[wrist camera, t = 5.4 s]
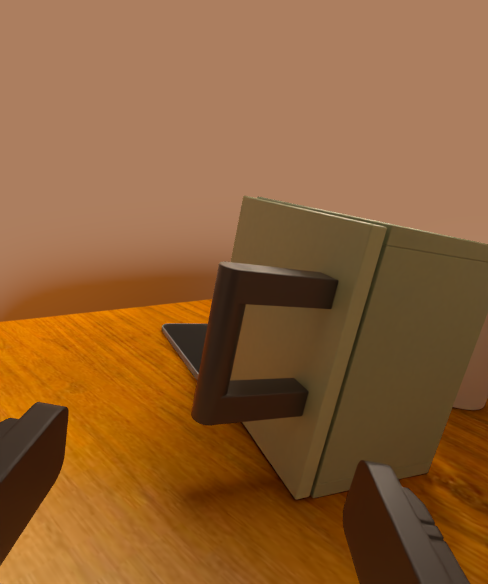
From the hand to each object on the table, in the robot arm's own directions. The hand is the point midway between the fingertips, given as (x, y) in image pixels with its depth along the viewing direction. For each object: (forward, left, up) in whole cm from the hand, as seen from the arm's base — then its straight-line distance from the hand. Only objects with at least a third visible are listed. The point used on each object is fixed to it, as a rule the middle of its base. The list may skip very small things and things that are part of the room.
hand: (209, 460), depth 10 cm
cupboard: (+15, +13, -9) cm, 22 cm away
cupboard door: (+6, +13, -9) cm, 17 cm away
